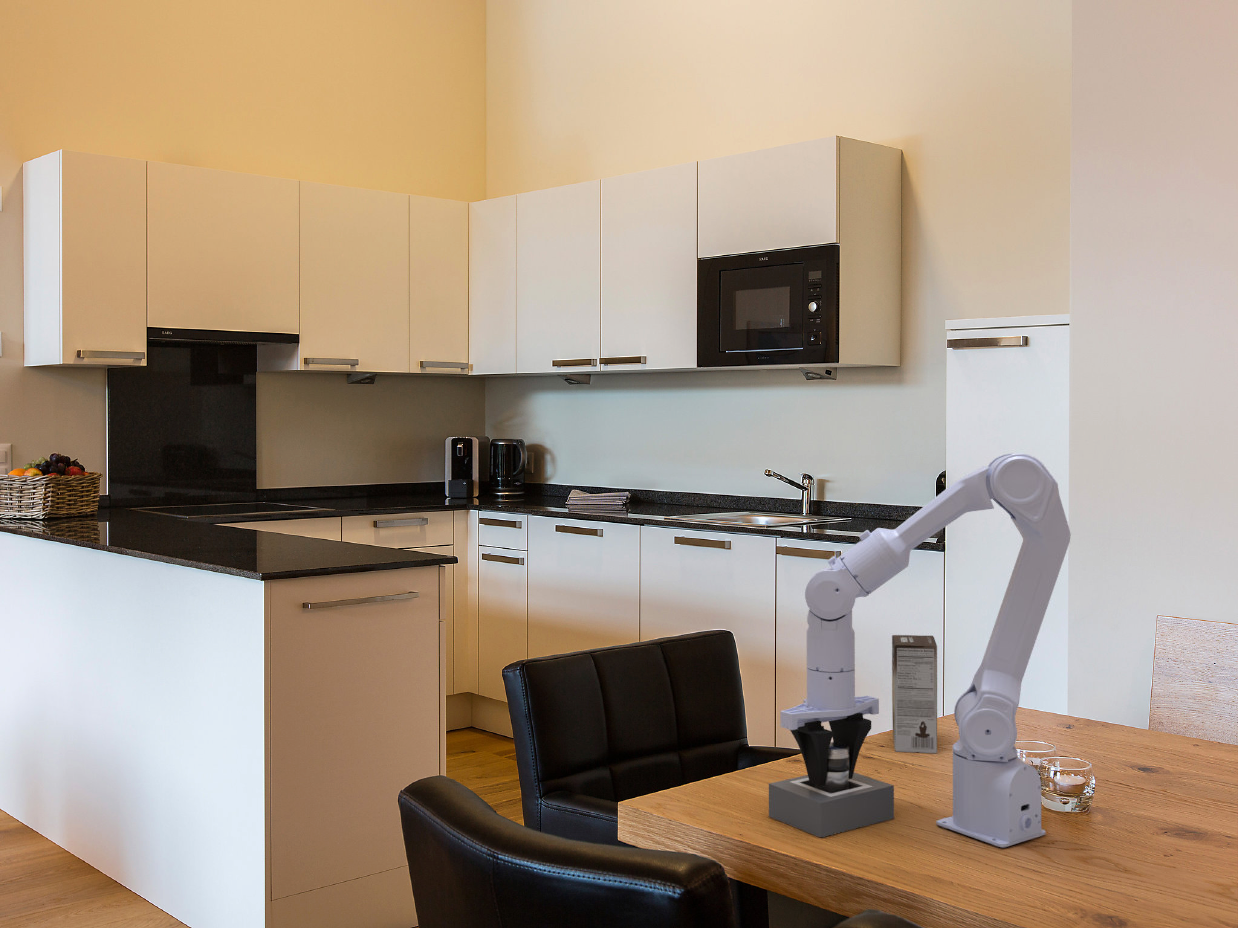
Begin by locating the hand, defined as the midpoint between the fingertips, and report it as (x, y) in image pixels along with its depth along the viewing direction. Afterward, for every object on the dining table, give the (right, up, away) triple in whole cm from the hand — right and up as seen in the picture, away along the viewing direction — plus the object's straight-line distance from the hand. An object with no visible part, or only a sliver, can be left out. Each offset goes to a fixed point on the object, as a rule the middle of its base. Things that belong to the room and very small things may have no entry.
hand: (831, 780), depth 131 cm
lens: (0, -2, 0) cm, 2 cm away
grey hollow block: (0, -5, 0) cm, 4 cm away
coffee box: (+19, -5, +33) cm, 38 cm away
